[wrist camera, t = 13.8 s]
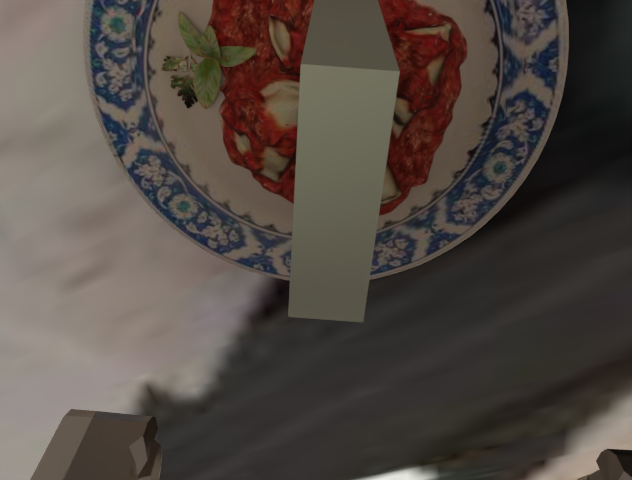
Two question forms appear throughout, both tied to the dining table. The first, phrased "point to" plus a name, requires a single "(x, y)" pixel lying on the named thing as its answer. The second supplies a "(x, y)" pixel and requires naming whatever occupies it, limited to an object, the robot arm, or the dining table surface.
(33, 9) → the dining table surface
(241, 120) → the ceramic plate
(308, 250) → the grey-green rectangular block
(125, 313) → the dining table surface
